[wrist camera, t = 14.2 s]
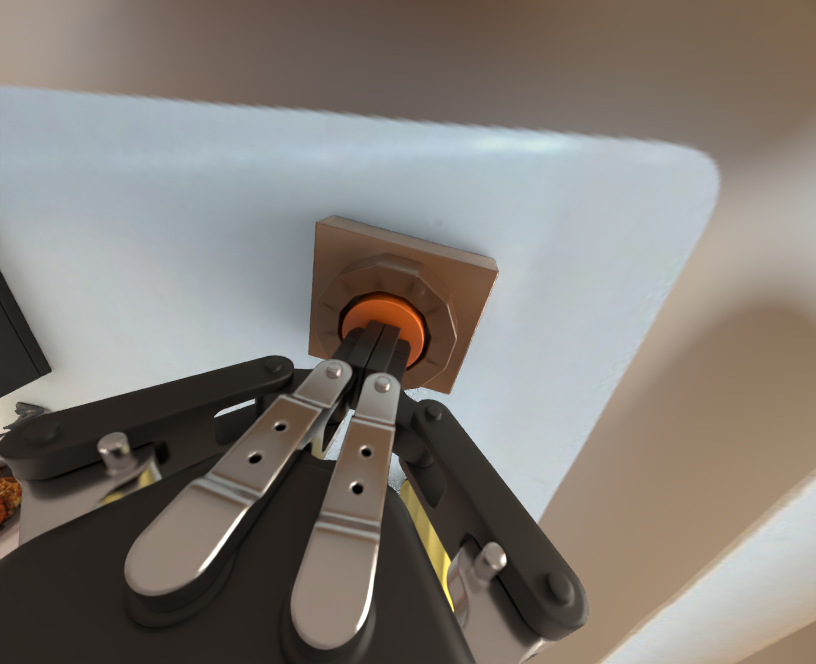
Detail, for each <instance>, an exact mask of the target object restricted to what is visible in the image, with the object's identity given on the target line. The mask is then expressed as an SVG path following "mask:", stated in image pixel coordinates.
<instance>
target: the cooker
mask: <svg viewBox="0 0 816 664" xmlns="http://www.w3.org/2000/svg"><path fill="white" fill-rule="evenodd" d="M50 372H52V371H51V369H50V367H49V365H48V363H47V361H46V359H45V358H44V356H43V354H42V352H41V350H40V348H39V346H38V344H37V342H36V340H35V338H34V337H33V335H32V333H31V331H30V329H29V327H28V325H27V323H26V321H25V319H24V317H23V315H22V314H21V312H20V310H19V308H18V306H17V304H16V302H15V300H14V298H13V296H12V294H11V292H10V291H9V289H8V287H7V285H6V283H5V281H4V279H3V277H2V275H1V273H0V398H1V397H3V396H5V395H7V394H9V393H11V392H13V391H15V390H17V389H19V388H21V387H22V386H24V385H26V384H28V383H30V382H32V381H34V380H36V379H38V378H40V377H42V376H44V375H46V374H48V373H50Z"/></svg>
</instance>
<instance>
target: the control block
mask: <svg viewBox="0 0 816 664" xmlns="http://www.w3.org/2000/svg"><path fill="white" fill-rule="evenodd" d="M498 274H499V271H498V268H497V265H496V262H495V260H494V259H492V258H488V257H485V256H481V255H477V254H474V253H470V252H466V251H463V250H459V249H455V248H451V247H448V246H444V245H440V244H437V243H433V242H429V241H426V240H422V239H418V238H415V237H411V236H407V235H404V234H400V233H396V232H392V231H389V230H385V229H381V228H378V227H374V226H370V225H367V224H363V223H359V222H356V221H352V220H348V219H345V218H341V217H337V216H331V217H328V218H326V219H323V220H321V221H318V222H316V231H315V248H314V265H313V282H312V299H311V316H310V333H309V350H308V355H311V356H314V357H318V358H321V359H325V360H329V359H331V357H332V356H333V354H334V353H335V351H336V350H337V348H338V347H339V345H340V344H341V343H342V341H343V334H342V326H343V322H344V319H345V317H346V315H347V314H348V312H349V311H350V310H351V308H352V307H353V306H354V304H355V303H356V302H357V300H358V299H359V298H360V297H361V296H362V295H363V294H366V293H370V292H374V291H379V290H380V291H383V292H387V293H390V294H394V295H398V296H401V297H405V298H406V299H407V300H408V301H409V302H410V303H411V304H413V305H414V306H415V307H416V308H417V309H418V310H419V311H420V312H421V313H422V314H423V315H424V316H425V319H426V323H427V329H426V334H425V338H424V343H423V348H422V351H421V353H420V355H419V357H418V358H417V359H416V361H414V362H413V363H412V364H411V365H409V366H408V367H406V370H405V373H404V377H403V380H402V388H403V390H407V389H414V388H420V387H424V388H427V389H431V390H434V391H438V392H442V393H445V394H450V393H451V390H452V388H453V385H454V383H455V380H456V378H457V375H458V373H459V370H460V368H461V365H462V363H463V360H464V358H465V355H466V353H467V350H468V348H469V346H470V343H471V341H472V338H473V336H474V333H475V331H476V328H477V326H478V323H479V321H480V318H481V316H482V313H483V311H484V308H485V306H486V304H487V301H488V299H489V296H490V294H491V291H492V289H493V286H494V284H495V281H496V279H497V276H498Z"/></svg>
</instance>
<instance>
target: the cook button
mask: <svg viewBox="0 0 816 664" xmlns="http://www.w3.org/2000/svg"><path fill="white" fill-rule="evenodd" d="M370 320H373V321H377V322H380V323H384V324H388V325H391V326H395V327H398V328H401V331H400V336H399V339H403V340H407V341H409V343H410V346H411V351H410V355H409V359H408V362H407V366H406V367H408V366H409V365H411V364H412V363H413V362H414V361H416V359H417V358H418V357H419V355H420V353H421V351H422V348H423V343H424V338H425V334H426V329H427V323H426V319H425V316H424V315H423V314H422V313H421V312H420V311H419V310H418V309H417V308H416V307H415V306H414V305H413V304H411V303H410V302H409V301H408V300H407V299H406V298H405V297H401V296H398V295H394V294H390V293H387V292H383V291H380V290H379V291H374V292H370V293H366V294H363V295H362V296H361V297H360V298H359V299H358V300H357V302H356V303H355V304H354V306H353V307H352V308H351V310H350V311H349V312H348V314H347V315H346V317H345V319H344V322H343V326H342V334H343V340H344V338H345V337H346V335H347V334H348V332H349V331H350V330H352V329H354V328H356V327H360V328H364V329H365V328H366V327H367V325H368V323H369V322H370ZM385 326H386V325H385Z"/></svg>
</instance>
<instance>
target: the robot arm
mask: <svg viewBox="0 0 816 664" xmlns="http://www.w3.org/2000/svg"><path fill="white" fill-rule="evenodd" d="M385 325H386V326H385ZM400 331H401V328H398V327H395V326H391V325H388V324H384V323H380V322H377V321H373V320H370V322H369V323H368V325H367V327H366V328H365V329H364V328H360V327H356V328H354V329H352V330H350V331H349V332H348V334H347V335H346V337H345V338H344V340H343V341H342V343H341V344H340V345H339V347H338V348H337V350H336V351H335V353H334V354H333V356H332V357H331V359H329V360H325V361H322V362H321V363H319V364H318V365H317V366H316V367H315V369H294V365H293V362H292V361H291V360H290V359H288V358H286V357H283V356H277V355H273V356H266V357H262V358H259V359H255V360H251V361H247V362H243V363H240V364H236V365H232V366H228V367H224V368H221V369H217V370H213V371H209V372H205V373H202V374H198V375H194V376H190V377H186V378H183V379H179V380H175V381H171V382H167V383H164V384H160V385H156V386H152V387H148V388H145V389H141V390H137V391H133V392H129V393H126V394H122V395H118V396H114V397H110V398H107V399H103V400H99V401H95V402H91V403H88V404H84V405H80V406H76V407H72V408H69V409H65V410H61V411H57V412H53V413H50V414H46V415H42V416H39V417H36V418H33V419H31V420H28V421H26V422H24V423H22V424H20V425H18V426H17V427H15V428H14V429H12V430H11V431H9V432H8V433H7V434H6V435H5V436H4V437H3V438H2V439H1V441H0V455H1V457H2V458H3V459H4V460H5V462H6V463H7V464H8V466H9V467H10V468H11V469H12V473H13V476H14V477H15V479H16V480H17V481H18V482H19V484H20V485H21V486H22V499H21V514H20V530H19V545H18V547H17V548H16V549H14V550H13V551H12V552H10V553H9V554H7V555H6V556H4V557H3V558H2V559H0V664H523V663H524V662H525V661H527V660H529V659H530V658H532V657H534V656H535V655H537V654H538V653H540V652H542V651H543V650H545V649H547V648H548V647H550V646H552V645H553V644H555V643H556V642H558V641H559V640H561V639H563V638H564V637H566V636H568V635H569V634H571V633H573V632H574V631H576V630H577V629H579V628H581V627H582V626H583V625H584V624H585V623H586V621H587V619H588V615H589V605H588V600H587V596H586V593H585V590H584V588H583V586H582V584H581V582H580V580H579V579H578V577H577V576H576V574H575V573H574V572H573V570H572V569H571V568H570V566H569V565H568V564H567V562H566V561H565V560H564V559H563V557H562V556H561V555H560V554H559V552H558V551H557V550H556V548H555V547H554V546H553V544H552V543H551V542H550V540H549V539H548V538H547V537H546V535H545V534H544V533H543V531H542V530H541V529H540V527H539V526H538V525H537V524H536V522H535V521H534V520H533V518H532V517H531V516H530V515H529V513H528V512H527V511H526V509H525V508H524V507H523V505H522V504H521V503H520V502H519V500H518V499H517V498H516V496H515V495H514V494H513V492H512V491H511V490H510V489H509V487H508V486H507V485H506V483H505V482H504V481H503V480H502V478H501V477H500V476H499V474H498V473H497V472H496V470H495V469H494V468H493V467H492V465H491V464H490V463H489V461H488V460H487V459H486V457H485V456H484V455H483V454H482V452H481V451H480V450H479V448H478V447H477V446H476V445H475V443H474V442H473V441H472V439H471V438H470V437H469V435H468V434H467V433H466V432H465V430H464V429H463V428H462V426H461V425H460V424H459V422H458V421H457V420H456V419H455V417H454V416H453V415H452V413H451V412H450V411H449V410H448V408H447V407H446V406H445V405H443V404H442V403H440V402H438V401H436V400H431V399H425V400H421V401H419V402H416V401H414V400H413V399H411V398H410V397H409V396H407V395H406V393H405V392H404V390H403V388H402V380H403V377H404V373H405V370H406V366H407V362H408V359H409V355H410V351H411V346H410V343H409V341H407V340H403V339H399V336H400ZM252 399H255V404H252V405H249V406H246V407H244V408H241V409H238V410H235V411H232V412H230V413H227V414H224V415H221V416H218V417H215V418H214V416H215V415H216V414H217V413H218V412H219V411H221V410H223V409H226V408H229V407H232V406H234V405H237V404H240V403H243V402H246V401H249V400H252ZM349 409H353V410H355V413H354V416H353V415H352V417H351V420H350V423H349V426H348V429H347V432H346V435H345V438H344V441H343V444H342V447H341V450H340V453H339V456H338V459H337V460H324V458H325V456H326V454H327V452H328V451H329V449H330V447H331V445H332V444H333V442H334V440H335V438H336V437H337V435H338V433H339V431H340V430H341V428H342V426H343V424H344V421H345V417H346V416H347V413H348V411H349ZM392 452H393V453H395V454H396V455H398V456H399V463H400V466H401V468H402V470H403V471H404V473H405V475H406V477H407V479H408V481H409V483H410V485H411V487H412V489H413V490H414V492H415V494H416V496H417V498H418V500H419V502H420V504H421V506H422V508H423V510H424V511H425V513H426V515H427V517H428V519H429V521H430V523H431V525H432V527H433V529H434V531H435V532H436V534H437V536H438V538H439V540H440V542H441V544H442V546H443V548H444V550H445V552H446V553H447V555H448V557H449V559H450V561H451V563H450V565H449V567H448V570H447V575H446V582H447V588H448V592H449V595H450V598H451V600H452V604H453V609H454V612H453V610H452V608H451V605H450V603H449V601H448V599H447V596H446V594H445V592H444V590H443V587H442V585H441V583H440V581H439V578H438V576H437V574H436V572H435V569H434V567H433V565H432V563H431V560H430V558H429V556H428V554H427V551H426V549H425V547H424V545H423V542H422V540H421V538H420V536H419V533H418V531H417V529H416V527H415V524H414V522H413V520H412V518H411V515H410V513H409V511H408V509H407V507H406V505H405V503H404V502H403V500H402V499H401V497H400V496H399V495H398V494H397V492H396V491H395V490H394V489H393V488H392V487H390V486H389V485H388V484H387V481H388V475H389V468H390V462H391V455H392Z"/></svg>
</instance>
